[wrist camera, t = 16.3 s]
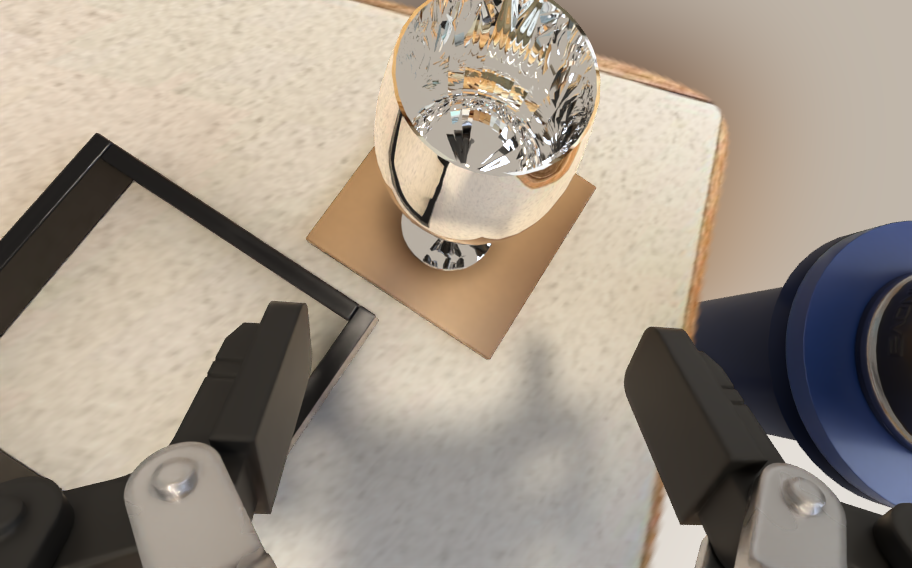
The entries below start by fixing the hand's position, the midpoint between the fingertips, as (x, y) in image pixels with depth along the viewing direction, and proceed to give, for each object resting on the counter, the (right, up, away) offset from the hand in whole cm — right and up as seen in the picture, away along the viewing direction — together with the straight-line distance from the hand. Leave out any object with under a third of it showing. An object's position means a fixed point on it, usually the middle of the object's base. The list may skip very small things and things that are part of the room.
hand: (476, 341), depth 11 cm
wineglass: (-1, +4, +11) cm, 12 cm away
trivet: (-1, +5, +12) cm, 12 cm away
